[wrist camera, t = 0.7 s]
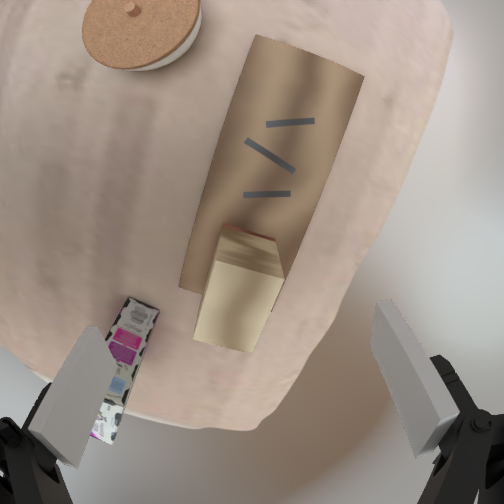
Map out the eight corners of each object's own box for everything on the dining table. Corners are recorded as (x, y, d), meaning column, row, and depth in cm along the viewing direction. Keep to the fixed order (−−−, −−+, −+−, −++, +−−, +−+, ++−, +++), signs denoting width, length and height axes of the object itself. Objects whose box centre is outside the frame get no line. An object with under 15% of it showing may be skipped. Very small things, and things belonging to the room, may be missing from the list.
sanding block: (202, 290, 36) (192, 339, 28) (222, 223, 33) (215, 260, 25) (250, 303, 37) (251, 353, 29) (275, 238, 34) (284, 279, 26)
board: (179, 283, 37) (178, 287, 36) (255, 36, 25) (255, 34, 24) (270, 308, 39) (271, 311, 38) (361, 77, 27) (364, 76, 26)
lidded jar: (100, 67, 25) (54, 56, 17) (138, -13, 21) (106, -46, 13) (185, 89, 27) (161, 79, 19) (225, 5, 23) (218, -33, 15)
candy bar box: (126, 294, 37) (78, 386, 23) (160, 309, 38) (126, 407, 24) (112, 347, 42) (76, 431, 27) (142, 359, 43) (113, 447, 28)
